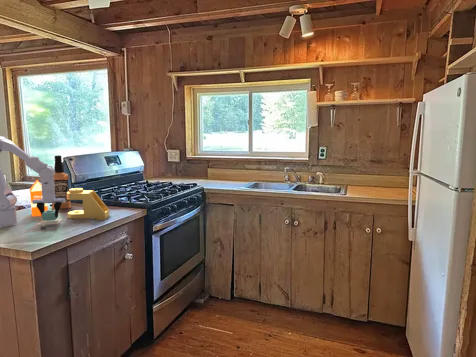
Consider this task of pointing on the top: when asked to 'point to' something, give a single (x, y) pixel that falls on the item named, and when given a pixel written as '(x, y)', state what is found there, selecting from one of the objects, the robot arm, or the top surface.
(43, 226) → the post
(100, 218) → the clamp
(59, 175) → the whiskey bottle
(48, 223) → the pad
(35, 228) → the board
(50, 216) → the collar
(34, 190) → the orange juice
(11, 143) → the robot arm
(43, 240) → the top surface
